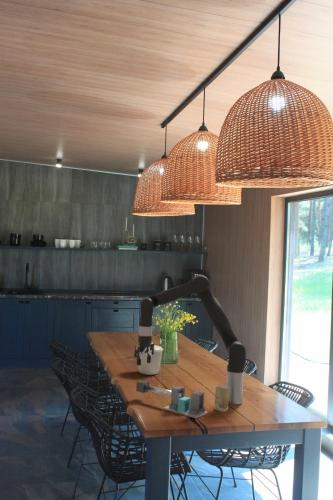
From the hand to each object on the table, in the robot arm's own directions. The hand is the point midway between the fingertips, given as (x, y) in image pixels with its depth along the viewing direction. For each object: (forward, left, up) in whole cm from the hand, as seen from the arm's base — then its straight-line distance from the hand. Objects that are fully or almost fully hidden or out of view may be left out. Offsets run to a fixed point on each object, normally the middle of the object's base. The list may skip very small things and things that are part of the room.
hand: (143, 364), depth 277 cm
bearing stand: (0, +28, -19) cm, 34 cm away
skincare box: (-16, +40, -19) cm, 48 cm away
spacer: (0, +28, -18) cm, 33 cm away
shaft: (0, +12, -15) cm, 19 cm away
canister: (-50, -35, -19) cm, 64 cm away
